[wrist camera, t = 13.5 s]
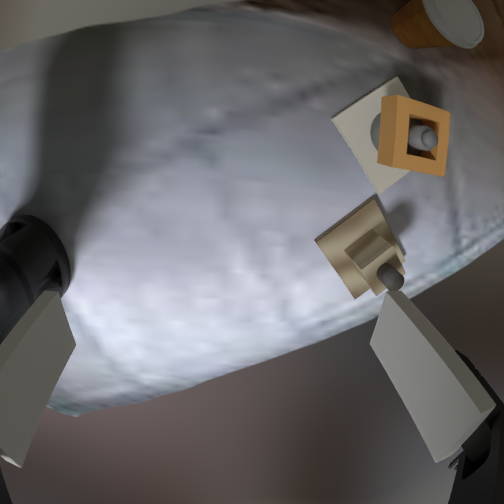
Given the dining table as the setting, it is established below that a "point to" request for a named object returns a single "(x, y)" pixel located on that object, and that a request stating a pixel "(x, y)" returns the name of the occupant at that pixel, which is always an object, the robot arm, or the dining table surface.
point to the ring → (396, 135)
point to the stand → (364, 251)
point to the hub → (367, 134)
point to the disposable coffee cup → (438, 24)
